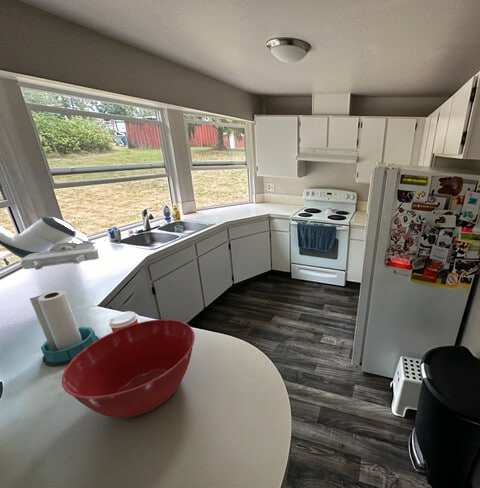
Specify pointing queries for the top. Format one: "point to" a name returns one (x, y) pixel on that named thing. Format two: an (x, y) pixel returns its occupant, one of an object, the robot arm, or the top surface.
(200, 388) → the top surface
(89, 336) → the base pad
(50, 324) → the paper towel roll
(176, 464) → the top surface
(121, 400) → the mixing bowl
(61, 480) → the top surface
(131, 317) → the paper cup
